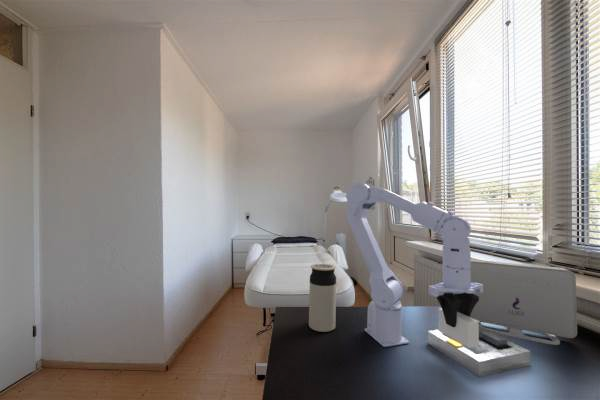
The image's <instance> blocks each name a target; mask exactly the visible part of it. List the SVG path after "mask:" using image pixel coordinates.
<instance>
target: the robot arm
mask: <svg viewBox="0 0 600 400" xmlns="http://www.w3.org/2000/svg"><path fill="white" fill-rule="evenodd" d="M345 198H346V200H347V203H346V204H347V205H346V206H347V207H346V219H347V220H348V223H349V224H348V225H349V226H350V229H351V231H352V233H353V236H354V238H355V241H356V242H357V245H358V248H359V250H360V252H361V255H362V256H363V259H364V262H365V265H366V267H367V269H368V270H367V271H368V272H369V280H368V285H369V287H370V291H371V292H370V296H371V301H370V302H369V304H368V306H367V321H366V322H367V323H366V324H367V325H366V326H367V327H366V328H364V332H366V333H367V334H368V335H369V336H371V337H372V338H373V339H374V340H375V341H376V342H378V343H379V344H380V345H381V346H382V347H384V348H386V347H387V348H388V347H393V346H399V345H405V344H406V345H407V344H409V343H410V341H409V339H408V338H406V337H404V336H403V335H402V334H403V332H402V331H403V330H402V323H403V322H402V321H403V320H402V316H403V313H402V310H403V309H402V308H403V306H402V302H401V299H402V297H403V296H404V293H405V289H404V285H403V283H402V282H401V281H400V280H399V279H398V278H397V277H396V275H395V273H394V272H393V271H392V270H391V269H390V268H389V267H388V264H387V262H386V260H385V257H384V256H383V253H382V251H381V249H380V247H379V244H378V241H377V239H376V237H375V235H374V232H373V230H372V228H371V226H370V224H369V221H368V219H367V216H368V214H369V213H370V210H371V209H372V208H373V207H374V206H375V205H376V203H378V204H380V203H381V204H383V203H384V204H386V205H390V206H391V207H394V208H396V209H399V210H401V211H403V212H405V213H407V214H408V215H410V217H411V220H412V221H413V222H415V223H417V224H419V225H420V226H423V227H425V228H426V229H429V230H431V231H432V232H435V233H440V234H441V235H442V237H443V238H442V241H443V244H442V245H443V246H442V282H440V283H439V282H438V283H436V284H433V285H428V295H430V296H432V297H435V298H436V299H437V301H438V304H439V305H440V307H441V308H442V311H443V314H444V317H445V321H446V324H448V325H450V326H451V327H456V322H457V312H459V313H462V314H464V315H466V316H468V317H470V315H471V312H472V310H473V308H474V306H475V305H476V303H477V302H478V301H479V296H477V295H474V294H473V293H475V292H479V293H483V284H479V283H476V282H475V283H471V260H472V258H471V257H472V256H471V251H472V250H471V248H470V246H471V241H470V237H469V236H470V234H471V232H472V227H471V224H470V222H469V221H468V220H467V219H466V218H464V217H463V216H459V215H454V212H453V211H452V210H448V211H446V210H444V209H442V208H440V207H437V206H435V203H434V202H431V201H427V202H426V201H421V202H418V203H416V202H413V201H411V200H409V199H407V198H405V197H403V196H401V195H398V194H397V193H394V192H393V191H390V190H388V189H386V188H383V187H379V186H375V185H372V184H366V183H364V182H361V181H359V182H358V181H357V182H354V183H352V184H351V185H350V186H349V188H348V190H347V192H346V194H345Z"/></svg>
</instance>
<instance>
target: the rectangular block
mask: <svg viewBox="0 0 600 400" xmlns="http://www.w3.org/2000/svg"><path fill="white" fill-rule="evenodd" d="M438 329H439V331H440V332H441V333H443V334H445V335H447V336H448V337H450V338H452V339H454V340H455V341H457V342H459V343H461V344H462V345H464V346H466V347H467V348H471V347H477V346H479V321H477V320H475V319H473V318H471V317H468V316H466V315H464V314H462V313H459V312H457V322H456V327H451V326H450V325H448V324H446V321H445V317H444V314H443V311H442V308H440V307H439V308H438Z"/></svg>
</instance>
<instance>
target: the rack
mask: <svg viewBox="0 0 600 400" xmlns="http://www.w3.org/2000/svg"><path fill="white" fill-rule="evenodd" d="M484 328H485V327H484ZM484 328H482V327H480V326H479V346H477V347H471V348H467V347H466V346H464V345H462V344H461V343H459V342H457V341H455V340H454V339H452V338H450V337H448V336H447V335H445V334H443V333H441V332H440V331H439V328H438V329H434V330H433V329H432V330H427V344H428V345H430V346H431V347H433V348H434V349H436V350H438V352H440V353H443V354H444V355H445V356H446V357H448V358H449V359H451V360H453V361H454V362H456V363H457V364H459V365H460V366H462V367H463V368H465V369H466V370H469V371H470V373H472V374H475V375H476V376H477V377H479V378H480V377H485V376H490V375H495V374H499V373H502V372H507V371H511V370H515V369H520V368H525V367H530V366H531V365H532V364H531V363H532V361H531V360H532V358H531V357H532V356H531V350H529V349H527V348H524V346H523V347H522V346H521V345H518V344H517V343H514V342H512V341H509V340H508V338H506V337H503V336H501V335H500V334H497V333H493V332H491V331H489V330H486V329H484Z"/></svg>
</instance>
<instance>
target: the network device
mask: <svg viewBox="0 0 600 400" xmlns="http://www.w3.org/2000/svg"><path fill="white" fill-rule="evenodd" d="M475 282H476V283H479V284H483V293H479V292H475V293H473V294H474V295H477V296H479V301H478V302H477V303H476V305H475V306H474V308H473V310H472V312H471V315H470V317H471V318H473V319H475V320H477V321H479V326H480V327H482V328H484V329H486V330H489V331H491V332H493V333H495V334H497V335H503V336H507V337H512V338H519V339H521V340H522V339H523V340H527V341H532V342H538V343H542V344H547V345H553V346H554V345H555V346H559V345H561V340H560V339H559V338H558V337H562V338H568V339H573V338H576V337H577V335H578V314H577V313H578V310H577V308H578V306H577V305H578V304H577V276H576V274H575V273H574V272H573V271H571V270H568V269H566V268H564V267H557V266H547V265H535V264H534V265H533V264H526V263H525V264H523V263H513V262H505V261H504V262H502V261H492V260H491V261H490V260H481V259H471V283H475ZM480 321H481V322H480ZM482 323H487V324H492V325H498V326H503V327H505V328H506V329H507V331H508V332H507V331H502V330H497V329H492V328H488V327H485V326H482ZM523 331H530V332H535V333H541V334H545V335H547V336H548V337H549V338H550V339H551V340H549V339H543V338H540V337H533V336H528V335H525V334H524V333H523Z"/></svg>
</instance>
